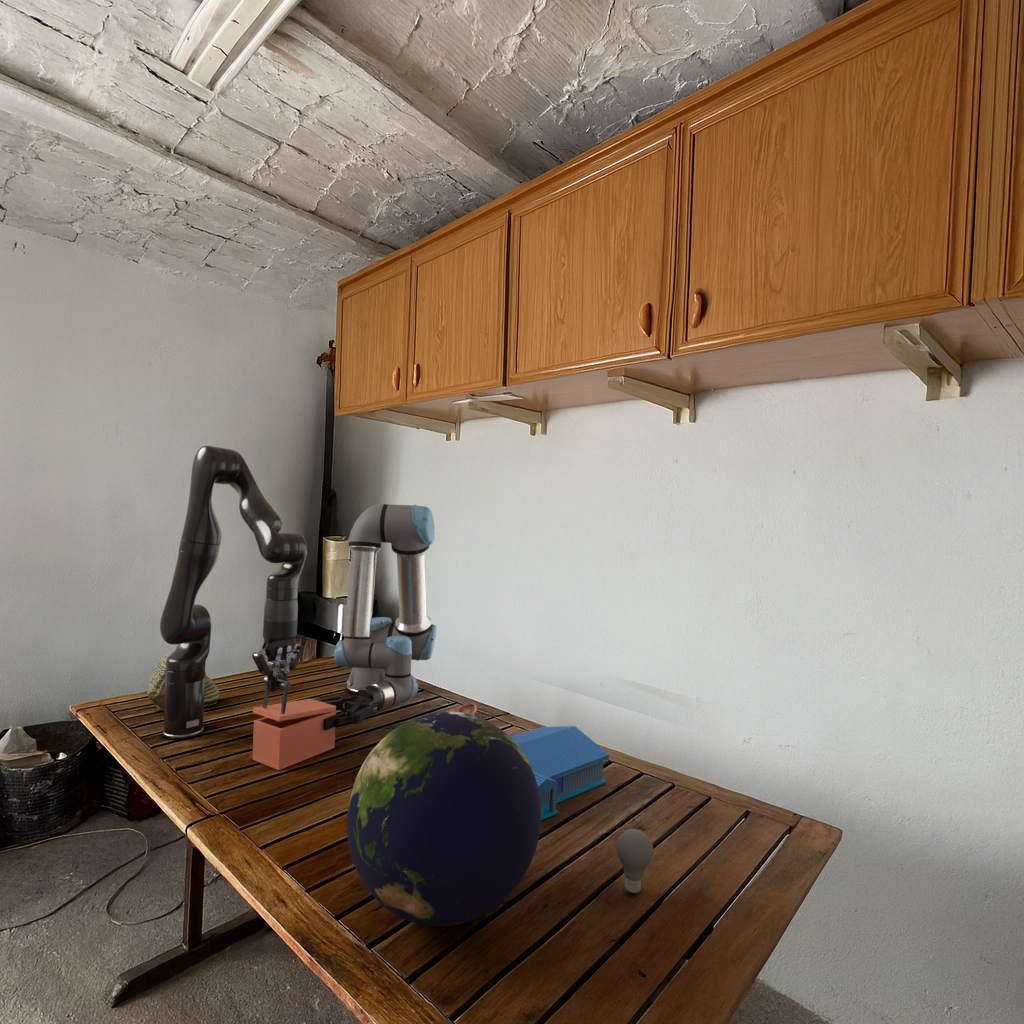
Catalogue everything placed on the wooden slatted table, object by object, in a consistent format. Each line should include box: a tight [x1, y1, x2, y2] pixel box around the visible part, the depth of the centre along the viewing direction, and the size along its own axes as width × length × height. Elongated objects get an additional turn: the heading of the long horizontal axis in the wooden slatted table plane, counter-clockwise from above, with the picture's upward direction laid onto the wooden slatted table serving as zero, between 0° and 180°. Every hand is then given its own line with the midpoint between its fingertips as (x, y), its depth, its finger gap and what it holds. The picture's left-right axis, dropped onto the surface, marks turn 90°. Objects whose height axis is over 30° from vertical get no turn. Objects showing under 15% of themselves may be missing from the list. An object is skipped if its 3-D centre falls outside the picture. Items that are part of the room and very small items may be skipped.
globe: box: [346, 711, 542, 928], centre depth 99 cm, size 30×30×30 cm
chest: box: [252, 710, 337, 771], centre depth 155 cm, size 17×10×9 cm, turn 148°
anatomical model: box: [444, 702, 478, 716], centre depth 183 cm, size 13×4×12 cm
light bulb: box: [615, 828, 654, 894], centre depth 106 cm, size 6×6×10 cm
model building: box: [509, 725, 610, 822], centre depth 140 cm, size 39×24×10 cm, turn 132°
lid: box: [252, 675, 337, 722], centre depth 155 cm, size 17×10×9 cm, turn 148°
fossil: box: [147, 654, 221, 712], centre depth 185 cm, size 9×18×15 cm, turn 132°
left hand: (277, 689), depth 150 cm, fingers closed on lid, 2 cm apart
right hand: (310, 719), depth 159 cm, fingers closed on chest, 10 cm apart
